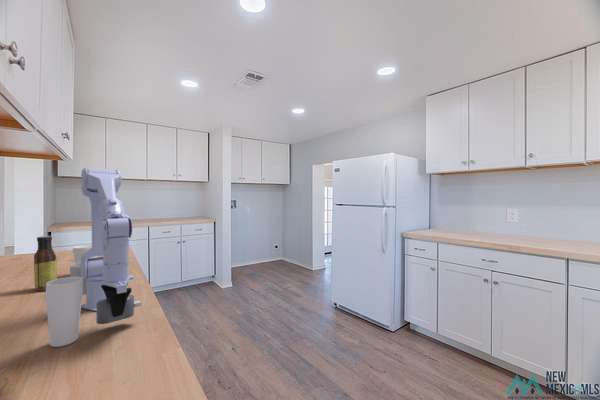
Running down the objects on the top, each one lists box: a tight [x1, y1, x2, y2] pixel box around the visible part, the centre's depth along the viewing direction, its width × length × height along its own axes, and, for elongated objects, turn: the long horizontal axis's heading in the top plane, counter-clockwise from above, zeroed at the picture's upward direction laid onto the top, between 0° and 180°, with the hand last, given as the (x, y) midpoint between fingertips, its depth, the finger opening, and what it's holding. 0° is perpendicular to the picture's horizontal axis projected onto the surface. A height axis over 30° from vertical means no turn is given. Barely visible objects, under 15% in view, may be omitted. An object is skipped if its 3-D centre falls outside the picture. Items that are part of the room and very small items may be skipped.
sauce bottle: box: [33, 235, 58, 292], centre depth 102 cm, size 6×6×20 cm
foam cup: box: [72, 243, 99, 264], centre depth 120 cm, size 10×9×13 cm
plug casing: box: [95, 294, 142, 325], centre depth 74 cm, size 10×4×5 cm, turn 134°
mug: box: [69, 262, 87, 295], centre depth 101 cm, size 11×10×10 cm
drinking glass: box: [45, 276, 84, 348], centre depth 66 cm, size 7×7×15 cm
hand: (115, 312), depth 73 cm, fingers closed on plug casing, 4 cm apart
